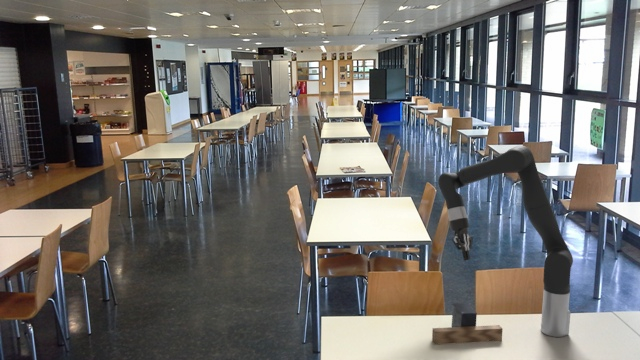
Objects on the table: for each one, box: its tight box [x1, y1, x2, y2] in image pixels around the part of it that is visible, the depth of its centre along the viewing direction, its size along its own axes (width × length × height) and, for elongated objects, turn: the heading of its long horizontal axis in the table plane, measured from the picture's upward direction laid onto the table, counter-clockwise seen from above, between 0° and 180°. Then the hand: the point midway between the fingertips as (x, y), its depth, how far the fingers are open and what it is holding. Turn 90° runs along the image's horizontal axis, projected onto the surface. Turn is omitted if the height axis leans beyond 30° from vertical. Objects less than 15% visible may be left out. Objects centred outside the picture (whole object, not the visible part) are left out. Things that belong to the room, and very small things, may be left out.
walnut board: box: [431, 324, 503, 345], centre depth 206 cm, size 26×3×5 cm, turn 95°
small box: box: [451, 301, 478, 327], centre depth 213 cm, size 11×6×10 cm, turn 5°
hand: (467, 260), depth 225 cm, fingers closed
